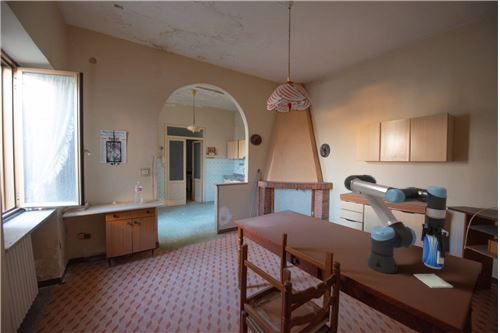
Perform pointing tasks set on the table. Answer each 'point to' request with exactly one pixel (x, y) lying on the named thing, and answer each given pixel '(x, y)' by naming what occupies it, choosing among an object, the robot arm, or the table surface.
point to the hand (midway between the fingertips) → (433, 259)
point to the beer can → (431, 252)
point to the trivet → (433, 281)
